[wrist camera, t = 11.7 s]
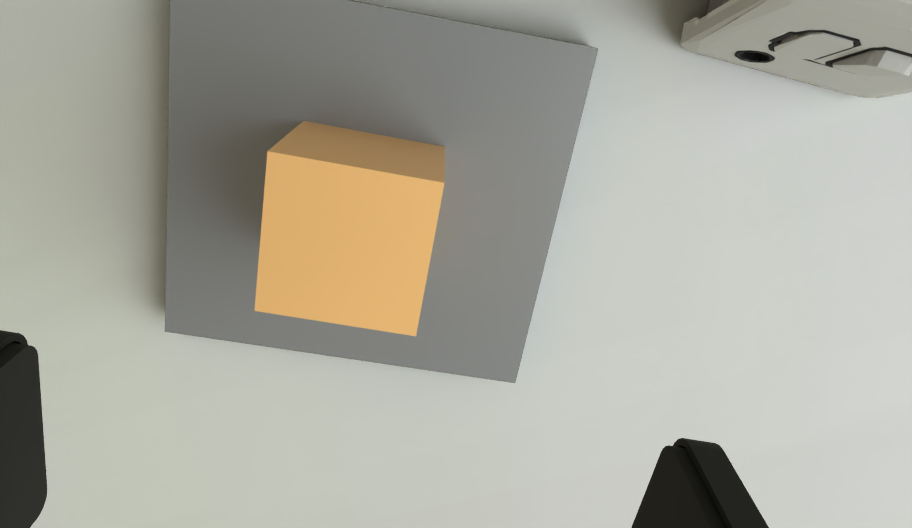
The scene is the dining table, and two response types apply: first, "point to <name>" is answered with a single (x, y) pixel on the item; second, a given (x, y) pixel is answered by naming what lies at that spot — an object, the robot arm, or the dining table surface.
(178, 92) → the plate
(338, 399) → the dining table surface
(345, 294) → the tan cardboard cube
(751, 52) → the electrical switch
